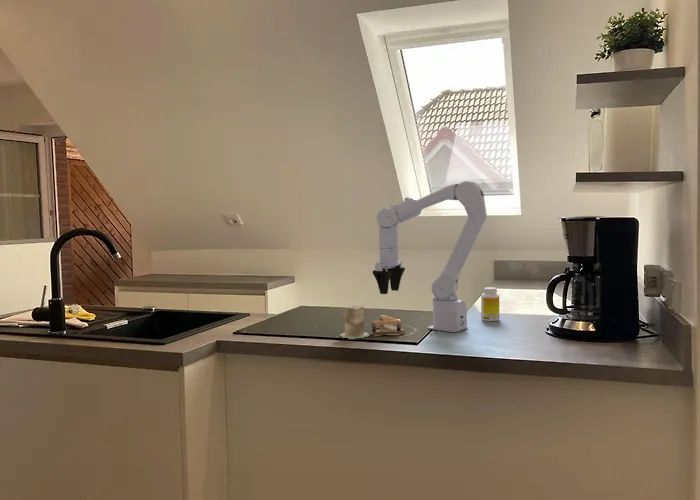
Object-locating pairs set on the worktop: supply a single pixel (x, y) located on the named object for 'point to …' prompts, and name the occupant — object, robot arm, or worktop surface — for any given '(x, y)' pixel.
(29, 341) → the worktop surface
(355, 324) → the birch handle block
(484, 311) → the supplement bottle
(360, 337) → the pad
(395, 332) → the copper rod course
